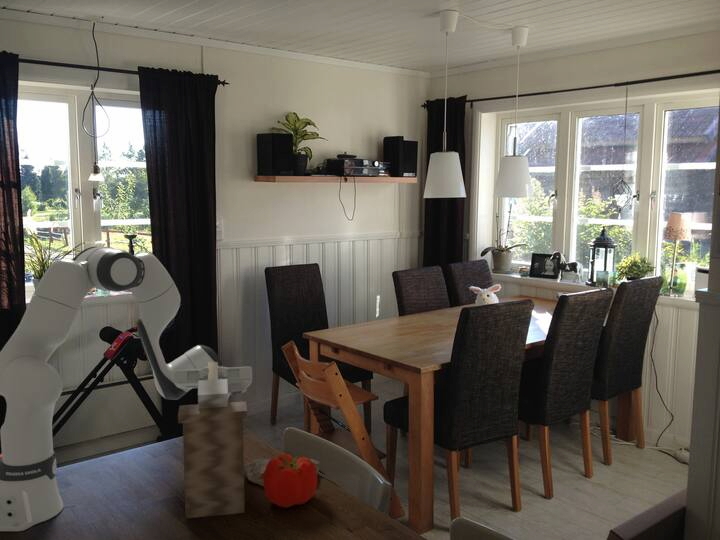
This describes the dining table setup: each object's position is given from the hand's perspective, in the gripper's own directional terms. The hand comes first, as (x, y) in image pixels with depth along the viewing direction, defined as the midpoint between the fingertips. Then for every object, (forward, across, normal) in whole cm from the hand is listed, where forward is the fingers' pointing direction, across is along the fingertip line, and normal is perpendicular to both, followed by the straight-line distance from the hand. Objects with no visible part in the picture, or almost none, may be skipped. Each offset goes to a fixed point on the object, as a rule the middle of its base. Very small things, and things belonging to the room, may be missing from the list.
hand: (213, 370), depth 169 cm
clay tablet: (-21, +17, +26) cm, 38 cm away
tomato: (-8, +19, +33) cm, 39 cm away
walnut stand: (-7, 0, +33) cm, 34 cm away
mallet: (0, 0, +5) cm, 5 cm away
